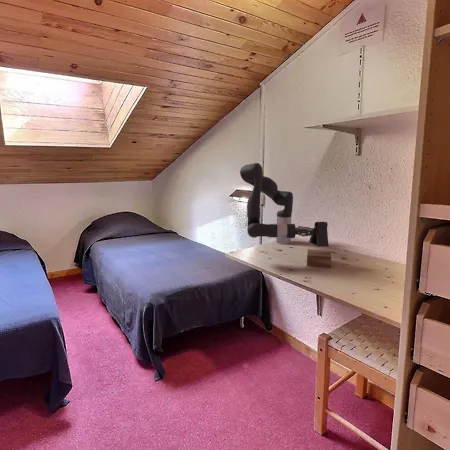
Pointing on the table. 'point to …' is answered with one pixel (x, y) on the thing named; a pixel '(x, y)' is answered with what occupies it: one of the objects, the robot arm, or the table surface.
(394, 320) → the table surface
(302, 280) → the table surface
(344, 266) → the table surface
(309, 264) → the walnut block
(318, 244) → the phone stand
